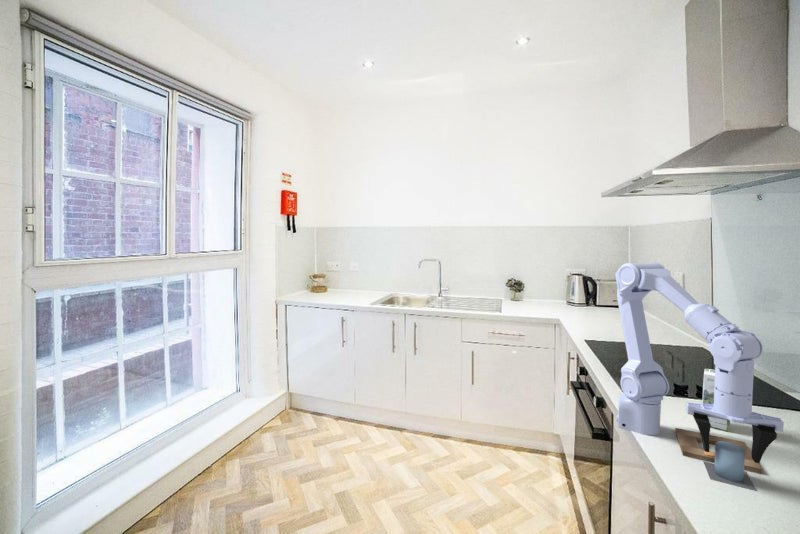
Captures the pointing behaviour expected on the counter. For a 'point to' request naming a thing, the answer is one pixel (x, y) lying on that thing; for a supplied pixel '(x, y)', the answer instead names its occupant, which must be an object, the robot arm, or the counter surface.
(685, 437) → the socket plate
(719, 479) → the mat
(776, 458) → the counter surface
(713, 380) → the syrup box
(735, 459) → the peg
